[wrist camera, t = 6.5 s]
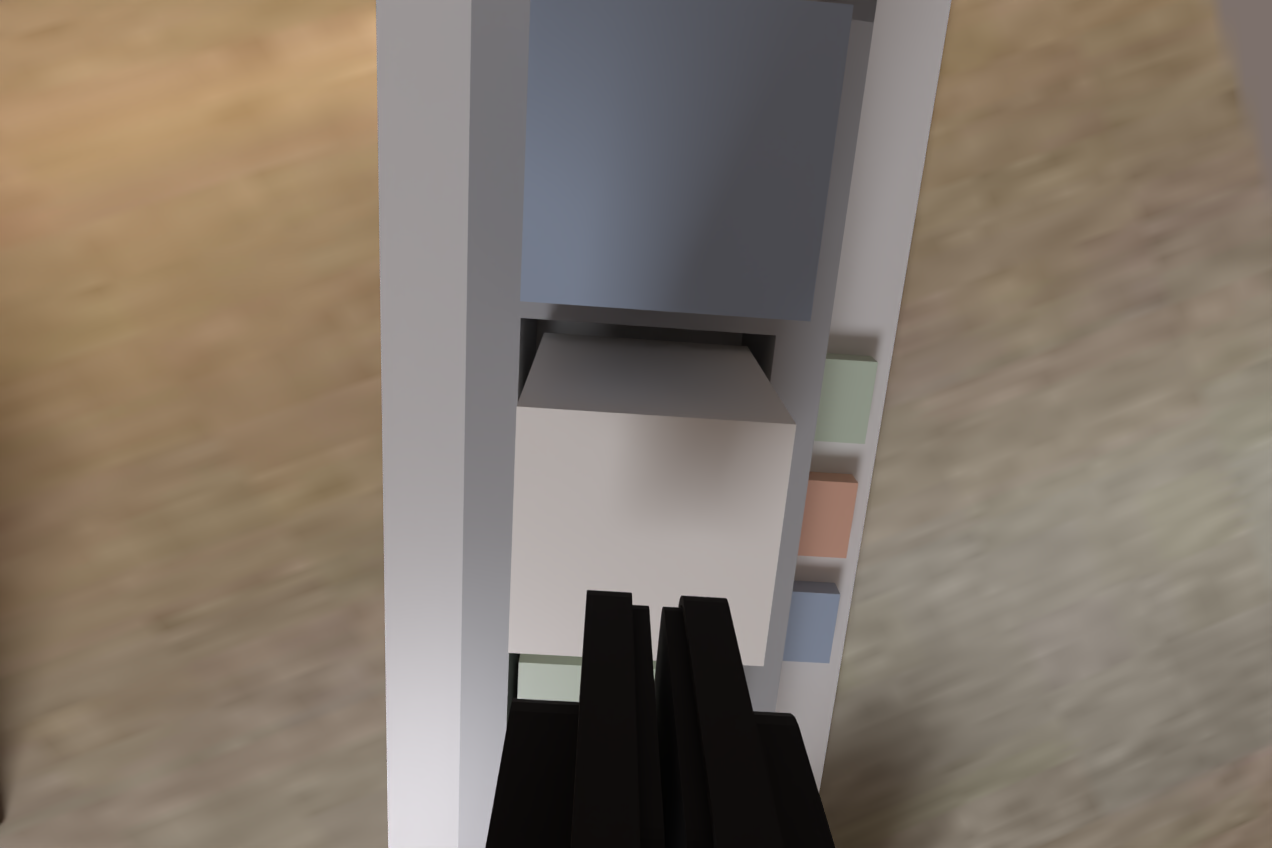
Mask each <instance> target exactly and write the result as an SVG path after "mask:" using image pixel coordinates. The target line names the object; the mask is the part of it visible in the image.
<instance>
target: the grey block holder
mask: <svg viewBox="0 0 1272 848" xmlns="http://www.w3.org/2000/svg"><path fill="white" fill-rule="evenodd" d="M806 1H817V2H829V3H841V4H852V5H854V6H853V13H852V20H851V28H850V35H849V42H848V50H847V57H846V64H845V72H844V79H843V86H842V94H841V101H840V108H839V116H838V123H837V130H836V138H835V145H834V152H833V160H832V167H831V175H830V182H829V189H828V197H827V204H826V211H825V219H824V226H823V233H822V241H821V248H820V255H819V263H818V270H817V277H816V285H815V292H814V299H813V307H812V314H811V321H796V320H782V319H768V318H753V317H739V316H725V315H710V314H696V313H681V312H667V311H653V310H638V309H624V308H610V307H595V306H581V305H567V304H552V303H538V302H524V301H520V290H521V260H522V231H523V202H524V173H525V143H526V114H527V85H528V56H529V26H530V0H376V29H377V99H378V168H379V238H380V307H381V377H382V446H383V516H384V585H385V655H386V724H387V794H388V848H485V847H486V841H487V835H488V830H489V824H490V819H491V813H492V807H493V802H494V796H495V790H496V785H497V779H498V773H499V768H500V762H501V756H502V751H503V745H504V740H505V734H506V728H507V723H508V717H509V711H510V707H511V702H512V700H513V698H514V699H517V694H518V668H519V658H520V653H508V641H509V611H510V582H511V553H512V524H513V494H514V465H515V436H516V406H517V404H518V401H519V398H520V396H521V393H522V390H523V388H524V385H525V382H526V380H527V377H528V374H529V372H530V369H531V366H532V364H533V361H534V358H535V356H536V353H537V350H538V348H539V345H540V342H541V340H542V337H543V334H544V333H558V334H573V335H587V336H602V337H617V338H631V339H646V340H661V341H675V342H690V343H705V344H719V345H734V346H748V348H749V350H750V351H751V353H752V354H753V356H754V358H755V359H756V361H757V362H758V364H759V366H760V367H761V369H762V370H763V372H764V374H765V375H766V377H767V378H768V380H769V382H770V383H771V385H772V386H773V388H774V390H775V391H776V393H777V394H778V396H779V398H780V399H781V401H782V402H783V404H784V406H785V407H786V409H787V410H788V412H789V413H790V415H791V417H792V418H793V420H794V421H795V423H796V432H795V439H794V446H793V454H792V461H791V468H790V476H789V483H788V490H787V498H786V505H785V512H784V520H783V527H782V534H781V542H780V549H779V557H778V564H777V571H776V579H775V586H774V593H773V601H772V608H771V615H770V623H769V630H768V637H767V645H766V652H765V659H764V666H748V665H743V668H744V673H745V677H746V682H747V686H748V690H749V695H750V699H751V703H752V708H753V711H760V712H779V713H791V714H793V715H794V716H795V718H796V720H797V723H798V725H799V728H800V731H801V735H802V738H803V741H804V745H805V748H806V752H807V755H808V758H809V762H810V765H811V768H812V772H813V775H814V778H815V782H816V785H817V788H818V792H819V791H820V785H821V779H822V773H823V767H824V761H825V755H826V749H827V743H828V737H829V731H830V725H831V719H832V713H833V707H834V701H835V695H836V689H837V683H838V677H839V671H840V665H841V659H842V653H843V647H844V641H845V635H846V629H847V623H848V617H849V611H850V605H851V599H852V593H853V587H854V581H855V575H856V569H857V563H858V557H859V551H860V545H861V539H862V533H863V527H864V521H865V515H866V509H867V503H868V497H869V491H870V485H871V479H872V473H873V467H874V461H875V455H876V449H877V443H878V437H879V431H880V425H881V419H882V413H883V407H884V401H885V395H886V389H887V383H888V377H889V371H890V365H891V359H892V353H893V347H894V341H895V335H896V329H897V323H898V317H899V311H900V305H901V299H902V293H903V287H904V281H905V275H906V269H907V263H908V257H909V251H910V245H911V239H912V233H913V227H914V221H915V215H916V209H917V203H918V197H919V191H920V185H921V179H922V173H923V167H924V161H925V155H926V149H927V143H928V137H929V131H930V125H931V119H932V113H933V107H934V101H935V95H936V89H937V83H938V77H939V71H940V65H941V59H942V53H943V47H944V41H945V35H946V29H947V23H948V17H949V11H950V5H951V0H806Z"/></svg>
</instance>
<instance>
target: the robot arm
mask: <svg viewBox="0 0 1272 848" xmlns="http://www.w3.org/2000/svg"><path fill="white" fill-rule="evenodd" d="M485 848H835V845H834V842H833V839H832V835H831V832H830V829H829V825H828V822H827V819H826V815H825V812H824V809H823V805H822V802H821V798H820V795H819V792H818V788H817V785H816V782H815V778H814V775H813V772H812V768H811V765H810V762H809V758H808V755H807V752H806V748H805V745H804V741H803V738H802V735H801V731H800V728H799V725H798V723H797V720H796V718H795V716H794V715H793V714H791V713H779V712H760V711H753V708H752V703H751V699H750V695H749V690H748V686H747V682H746V677H745V673H744V668H743V664H742V660H741V655H740V651H739V647H738V642H737V638H736V634H735V629H734V625H733V620H732V616H731V612H730V607H729V603H728V600H727V599H726V598H717V597H700V596H683V595H681V597H680V600H679V605H678V607H663V608H662V612H661V620H660V630H659V640H658V650H657V660H656V670H655V679H654V669H653V654H652V640H651V625H650V610H649V606H646V605H632V593H631V592H615V591H598V590H587V594H586V608H585V622H584V637H583V651H582V666H581V680H580V694H579V702H571V701H552V700H533V699H514V698H513V700H512V702H511V707H510V711H509V717H508V723H507V728H506V734H505V740H504V745H503V751H502V756H501V762H500V768H499V773H498V779H497V785H496V790H495V796H494V802H493V807H492V813H491V819H490V824H489V830H488V835H487V841H486V847H485Z"/></svg>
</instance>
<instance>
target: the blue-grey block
mask: <svg viewBox="0 0 1272 848" xmlns="http://www.w3.org/2000/svg"><path fill="white" fill-rule="evenodd" d="M853 6H854V5H852V4H841V3H829V2H817V1H806V0H530V26H529V56H528V85H527V114H526V143H525V173H524V202H523V231H522V260H521V290H520V301H524V302H538V303H552V304H567V305H581V306H595V307H610V308H624V309H638V310H653V311H667V312H681V313H696V314H710V315H725V316H739V317H753V318H768V319H782V320H796V321H811V314H812V307H813V299H814V292H815V285H816V277H817V270H818V263H819V255H820V248H821V241H822V233H823V226H824V219H825V211H826V204H827V197H828V189H829V182H830V175H831V167H832V160H833V152H834V145H835V138H836V130H837V123H838V116H839V108H840V101H841V94H842V86H843V79H844V72H845V64H846V57H847V50H848V42H849V35H850V28H851V20H852V13H853Z"/></svg>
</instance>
